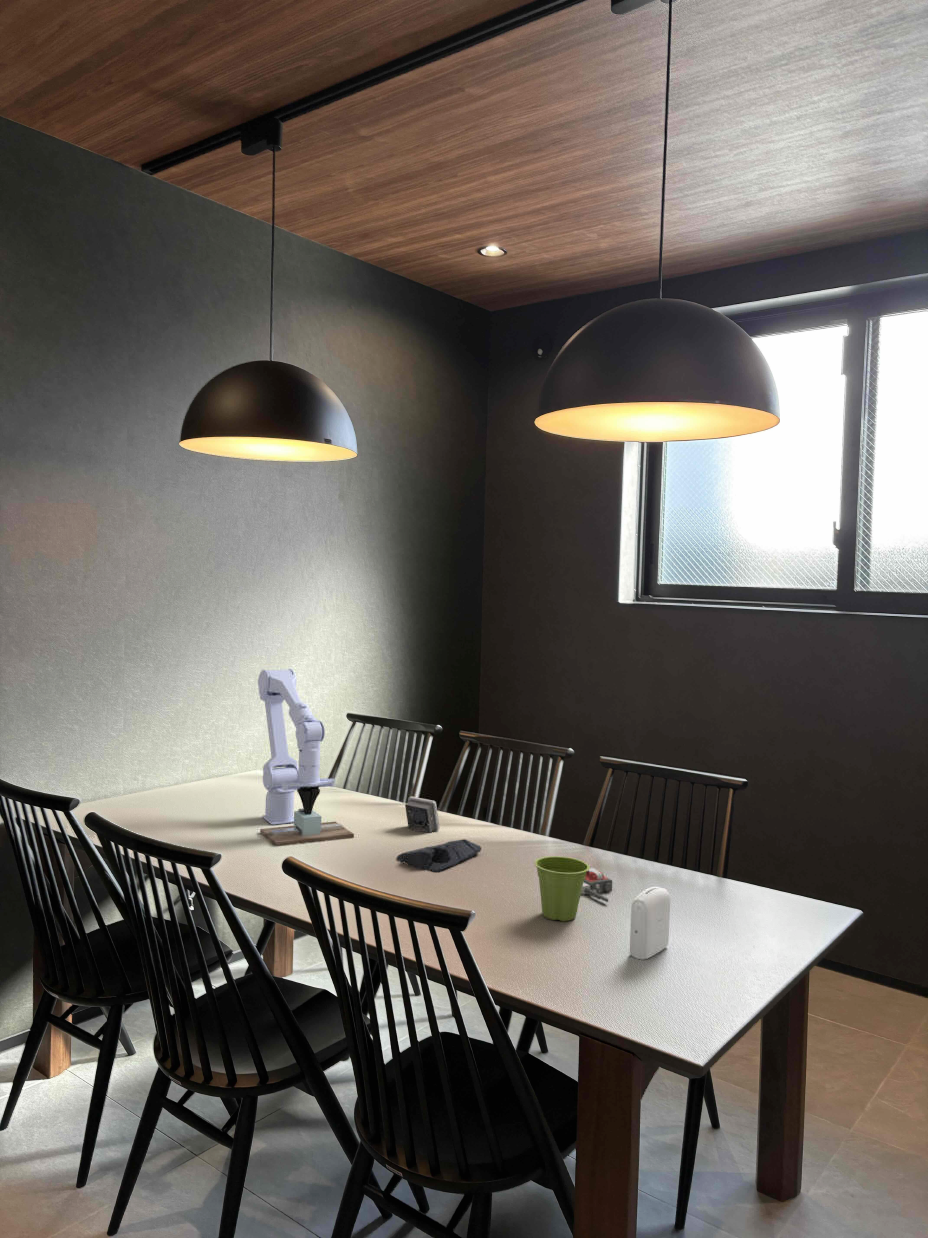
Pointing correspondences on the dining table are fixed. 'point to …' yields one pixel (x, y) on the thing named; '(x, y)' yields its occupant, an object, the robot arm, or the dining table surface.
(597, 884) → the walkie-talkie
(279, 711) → the robot arm
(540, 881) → the plant pot
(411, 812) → the electrical switch
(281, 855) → the dining table surface
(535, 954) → the dining table surface
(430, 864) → the dark slate chunk
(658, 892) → the photo printer
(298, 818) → the module
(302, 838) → the rail board
